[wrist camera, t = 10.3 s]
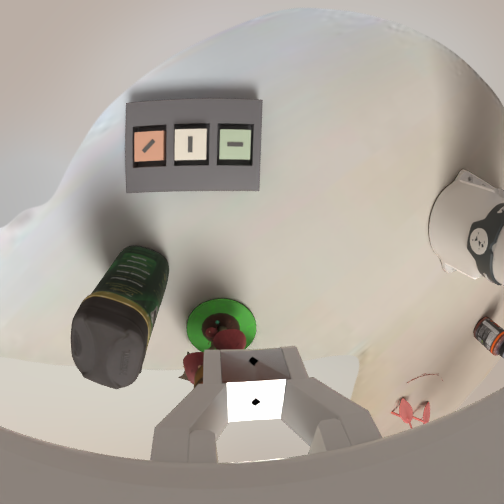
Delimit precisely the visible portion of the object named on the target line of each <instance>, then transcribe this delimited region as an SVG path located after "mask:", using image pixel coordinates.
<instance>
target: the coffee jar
mask: <svg viewBox="0 0 504 504" xmlns="http://www.w3.org/2000/svg"><path fill="white" fill-rule="evenodd" d="M168 274H169V266H168V263H167V261H166V259H165V258H164V257H163V256H162V255H161V254H159V253H158V252H155V251H153V250H150V249H148V248H144V247H140V246H129V247H127V248H125V249H124V250H123V251H122V252H121V253H120V254H119V256H118V257H117V258H116V260H115V261H114V262H113V264H112V265H111V267H110V268H109V270H108V271H107V273H106V274H105V275H104V277H103V278H102V279H101V281H100V282H99V284H98V285H97V286H96V288H95V289H94V291H93V292H92V293H91V294H90V295H89V296H87V297H86V298H85V299H84V300H83V302H82V303H81V305H80V307H79V309H78V310H77V312H76V314H75V316H74V318H73V321H72V328H71V350H72V357H73V360H74V362H75V364H76V366H77V368H78V369H79V371H80V372H81V373H82V375H83V377H85V378H87V379H89V380H91V381H93V382H96V383H99V384H101V385H104V386H107V387H110V388H114V389H119V388H122V387H126V386H128V385H130V384H132V383H133V382H134V381H135V380H136V379H137V377H138V375H139V373H141V370H142V364H143V361H144V358H145V354H146V350H147V347H148V343H149V340H150V336H151V333H152V330H153V327H154V324H155V320H156V317H157V314H158V311H159V307H160V305H161V302H162V299H163V296H164V292H165V289H166V285H167V281H168Z"/></svg>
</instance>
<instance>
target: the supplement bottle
mask: <svg viewBox="0 0 504 504" xmlns="http://www.w3.org/2000/svg"><path fill="white" fill-rule="evenodd" d="M474 337H475V338H476V339H477V340H478V341H479V342H480V343H481V344H483V345H484V346H485V347H486V348H487V349H488V350H489V351H490V352H491V353H492V354H493V355H499V354H500V356H501V357H503V358H504V330H503V329H502V328H501V327H500V326H498V325H497V324H496V323H495V322H494V321H492V320H491V319H490V318H488V317H484V318H482V319H481V320H480V321H479V322H478V324H477V325H476V327H475V329H474Z"/></svg>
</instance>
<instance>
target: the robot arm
mask: <svg viewBox="0 0 504 504" xmlns="http://www.w3.org/2000/svg"><path fill="white" fill-rule="evenodd" d="M468 178H469V179H468ZM429 238H430V243H431V246H432V248H433V250H434V252H435V253H436V255H437V256H438V257H439V258H440V260H441V263H442V267H443V270H444V271H445V272H447V273H451V272H454V271H457V270H458V271H459V272H461V273H463V274H465V275H467V276H469V277H471V278H473V279H477V278H479V277H482V276H484V277H485V278H486V279H487V280H489V281H490V282H492V283H495V284H497V285H503V286H504V190H502V189H500V188H497V189H496V188H495V187H493V186H492V185H490V184H488V183H487V182H485V181H484V180H482V179H480V178H479V177H477V176H476V175H474V174H472V173H471V172H469V171H467V170H464V169H463V170H461V171H460V172H459V174H458V175H457V177H456V179H455V181H454V182H453V183H452V184H450V185H449V186H448V187H446V188H445V189H444V190H443V191H442V193H441V194H440V195H439V197H438V198H437V200H436V202H435V204H434V207H433V210H432V213H431V217H430V223H429ZM220 357H221V359H220ZM274 418H281V420H282V421H283V422H284V423H285V424H286V425H287V426H288V427H289V428H291V429H292V430H293V431H294V432H295V433H296V434H297V435H298V436H299V437H300V438H301V439H302V440H303V441H305V442H306V443H307V444H308V445H309V446H310V450H309V453H308V455H303V456H296V457H289V458H281V459H272V460H261V461H249V462H231V463H218V456H217V447H216V441H217V440H218V438H219V437H220V435H221V434H222V432H223V431H224V429H225V428H226V426H227V424H228V422H230V421H244V420H254V419H255V420H258V419H274ZM0 504H504V387H503V388H501V389H500V390H498V391H496V392H494V393H492V394H490V395H488V396H486V397H485V398H483V399H481V400H479V401H477V402H475V403H472V404H470V405H468V406H466V407H464V408H462V409H460V410H457V411H455V412H453V413H450V414H448V415H446V416H443V417H441V418H438V419H436V420H433V421H431V422H428V423H426V424H423V425H420V426H417V427H415V428H412V429H409V430H406V431H403V432H400V433H397V434H393V435H390V436H387V437H384V438H382V436H381V434H380V432H379V430H378V428H377V426H376V424H375V423H374V421H373V419H372V417H371V415H370V413H369V411H368V410H366V409H365V408H363V407H361V406H359V405H358V404H356V403H354V402H353V401H351V400H349V399H348V398H346V397H344V396H342V395H341V394H339V393H338V392H336V391H335V390H333V389H331V388H330V387H328V386H327V385H325V384H323V383H322V382H320V381H318V380H317V379H315V378H314V377H310V378H309V377H308V374H307V372H306V369H305V367H304V364H303V362H302V359H301V357H300V354H299V351H298V349H297V347H296V346H287V347H280V348H267V349H236V350H204V364H203V384H198V385H197V386H196V387H195V388H194V389H193V390H192V391H191V392H190V393H189V394H188V395H187V396H186V397H185V398H184V399H183V400H182V401H181V402H180V403H179V404H178V405H177V406H176V407H175V408H174V409H173V410H172V411H171V412H170V413H169V414H168V415H167V416H166V417H165V418H164V419H163V420H162V421H161V422H160V423H159V424H158V425H157V426H156V427H155V430H154V437H153V444H152V451H151V459H150V460H140V459H131V458H124V457H117V456H110V455H104V454H98V453H93V452H88V451H83V450H78V449H74V448H69V447H65V446H61V445H57V444H53V443H50V442H46V441H42V440H39V439H36V438H33V437H30V436H26V435H23V434H20V433H17V432H14V431H12V430H9V429H6V428H4V427H1V426H0Z"/></svg>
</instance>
